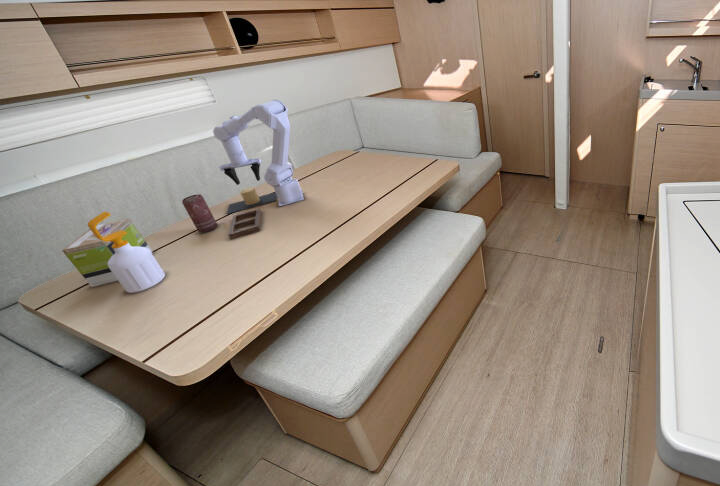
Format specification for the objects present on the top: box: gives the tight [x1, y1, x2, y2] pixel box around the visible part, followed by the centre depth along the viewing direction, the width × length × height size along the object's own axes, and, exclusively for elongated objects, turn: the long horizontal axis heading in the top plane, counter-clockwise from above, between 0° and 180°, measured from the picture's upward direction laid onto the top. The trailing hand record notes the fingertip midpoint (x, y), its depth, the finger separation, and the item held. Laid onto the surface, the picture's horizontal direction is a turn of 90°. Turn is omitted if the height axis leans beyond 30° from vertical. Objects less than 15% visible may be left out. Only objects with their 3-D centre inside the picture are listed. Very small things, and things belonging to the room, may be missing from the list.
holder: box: [228, 207, 263, 240], centre depth 136 cm, size 9×17×2 cm, turn 32°
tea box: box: [61, 217, 154, 288], centre depth 113 cm, size 15×10×15 cm, turn 22°
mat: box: [226, 191, 278, 215], centre depth 154 cm, size 18×10×1 cm, turn 122°
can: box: [181, 193, 218, 234], centre depth 134 cm, size 6×6×14 cm
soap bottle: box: [87, 211, 166, 294], centre depth 103 cm, size 9×9×25 cm
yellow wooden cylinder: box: [239, 187, 260, 205], centre depth 153 cm, size 5×5×6 cm
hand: (248, 181), depth 152 cm, fingers open, 7 cm apart
